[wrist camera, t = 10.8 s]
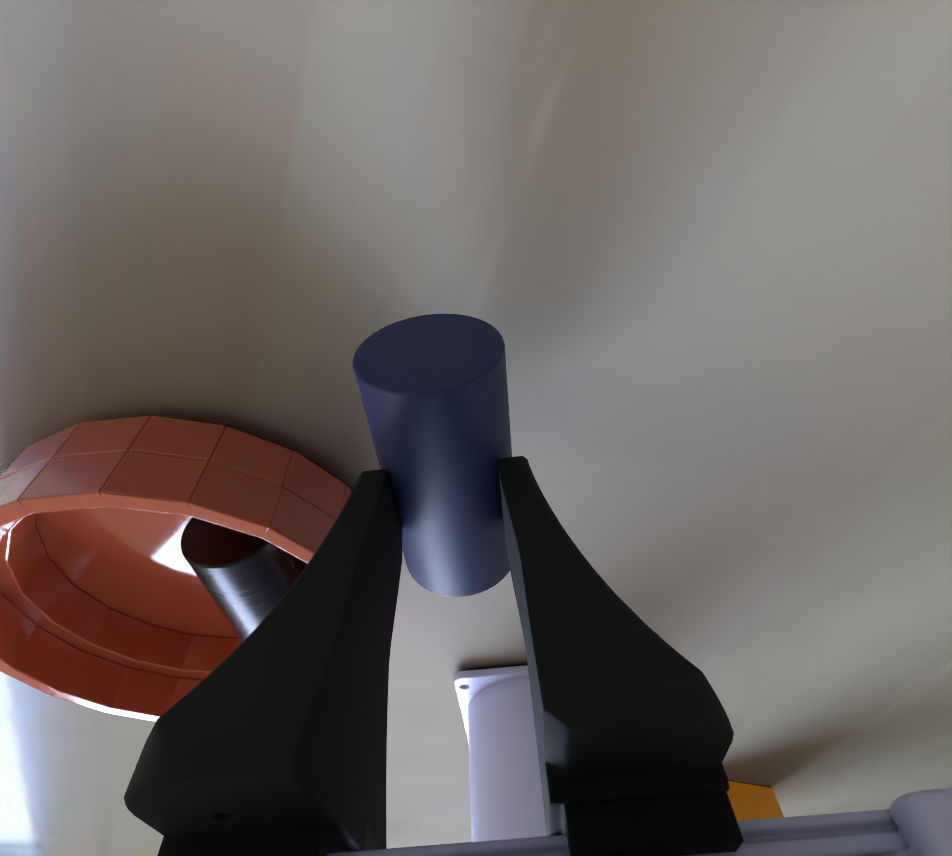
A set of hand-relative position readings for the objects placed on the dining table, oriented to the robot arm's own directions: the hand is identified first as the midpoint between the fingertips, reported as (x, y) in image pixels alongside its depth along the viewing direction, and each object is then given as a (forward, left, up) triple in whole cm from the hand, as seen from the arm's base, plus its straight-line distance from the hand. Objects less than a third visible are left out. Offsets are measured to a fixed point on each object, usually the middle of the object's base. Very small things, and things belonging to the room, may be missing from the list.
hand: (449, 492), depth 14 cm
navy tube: (0, -2, -2) cm, 2 cm away
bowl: (-7, +11, -5) cm, 14 cm away
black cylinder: (-7, +8, -4) cm, 12 cm away
